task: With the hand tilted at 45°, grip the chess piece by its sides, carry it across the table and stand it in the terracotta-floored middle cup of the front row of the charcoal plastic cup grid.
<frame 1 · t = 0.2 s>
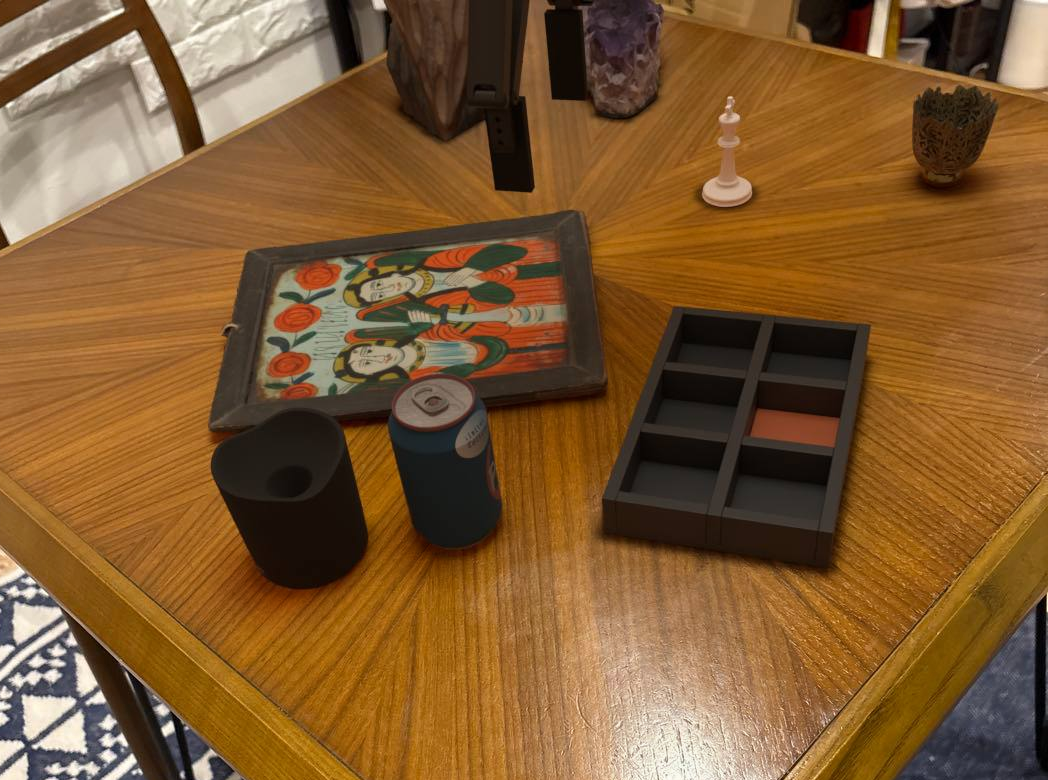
hand: (543, 141, 81), 20 cm above the table, tool pointing down, fingers open, 13 cm apart
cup: (940, 182, 108), on the table
owl: (451, 115, 130), on the table
chess piece: (726, 196, 111), on the table
soda can: (459, 524, 83), on the table
painting: (413, 326, 102), on the table
pen holder: (313, 551, 83), on the table
geode: (621, 81, 131), on the table
grid: (742, 441, 86), on the table
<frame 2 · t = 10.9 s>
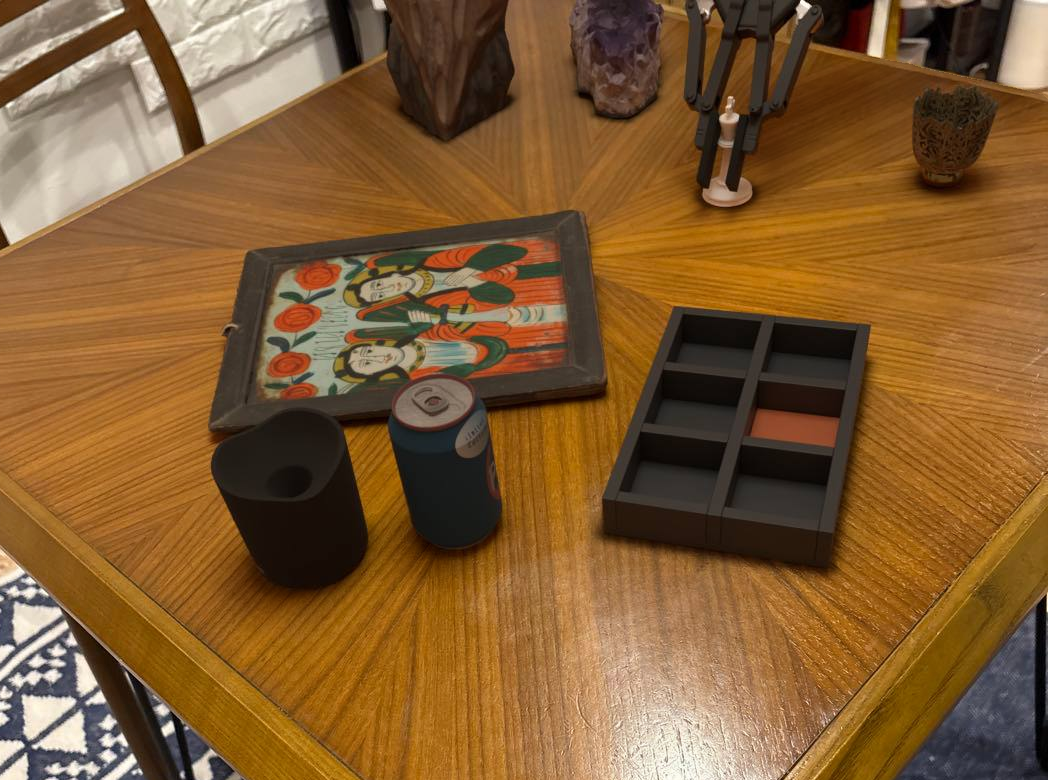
hand: (716, 185, 106), 3 cm above the table, tool tilted 45°, fingers closed on chess piece, 2 cm apart
chess piece: (727, 195, 111), on the table, touching gripper
everything else where it was.
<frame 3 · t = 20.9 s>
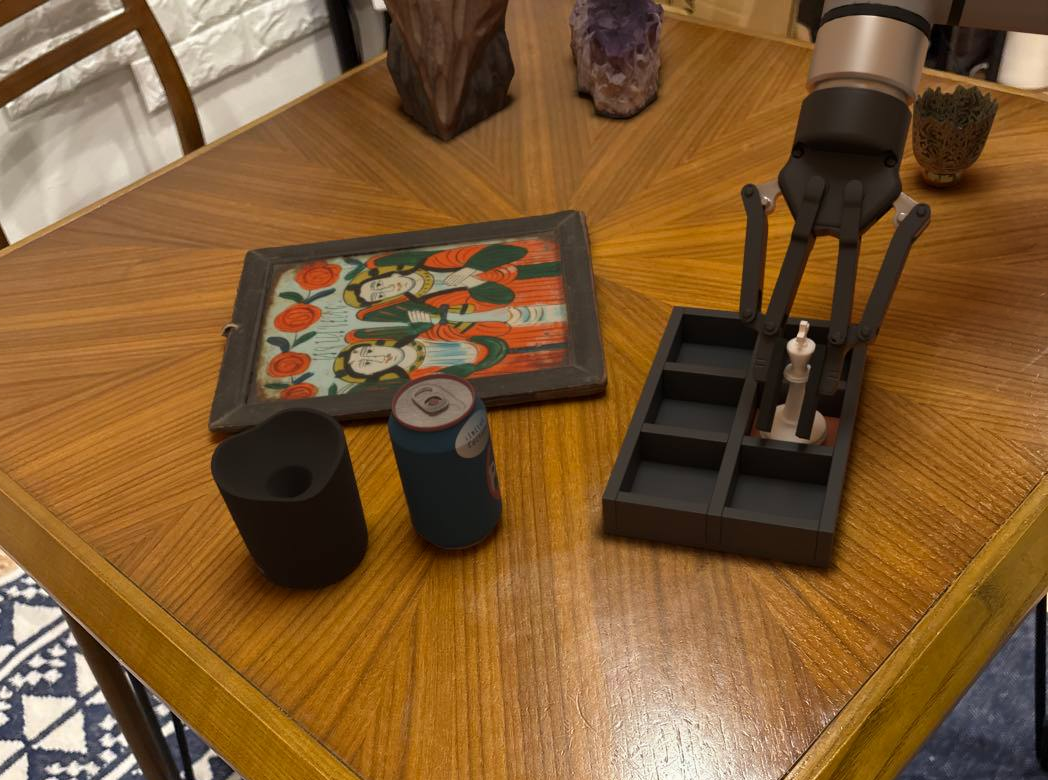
hand: (782, 433, 79), 5 cm above the table, tool tilted 45°, fingers closed on chess piece, 2 cm apart
chess piece: (792, 433, 84), point 1 cm above the table, touching gripper
everything else where it was.
when the fingers open (5 cm above the table, at t = 22.1 s): chess piece drops 1 cm, resting on grid.
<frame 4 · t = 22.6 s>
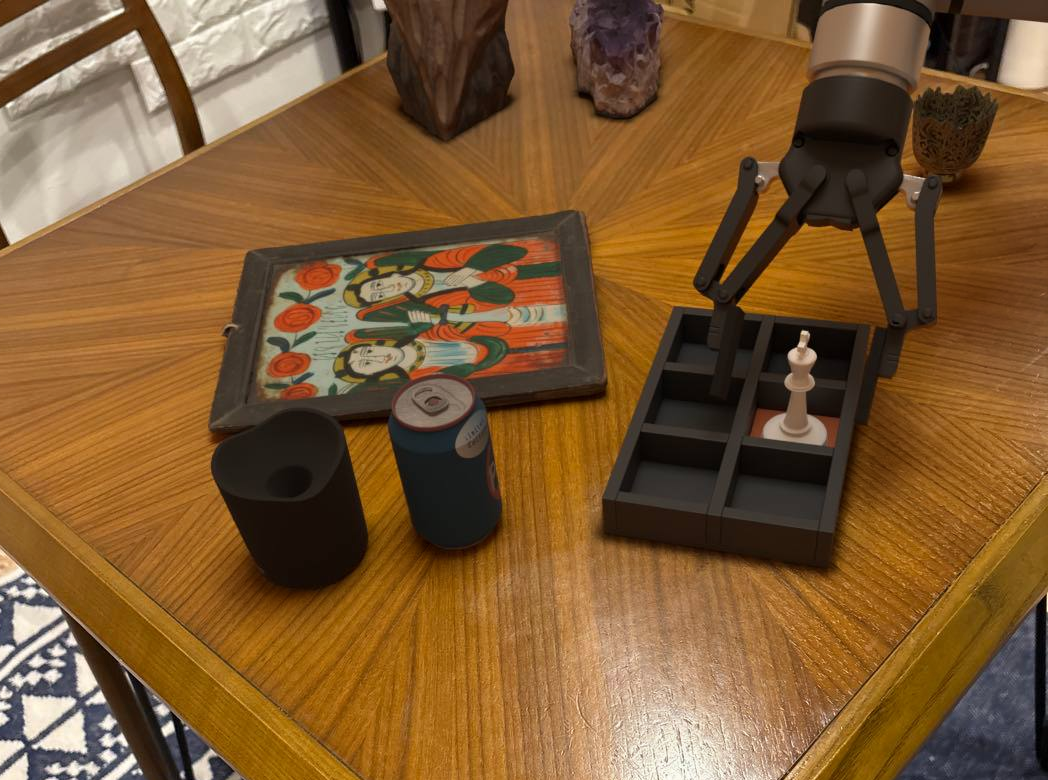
hand: (787, 410, 78), 6 cm above the table, tool tilted 45°, fingers open, 9 cm apart
chess piece: (793, 441, 84), point 1 cm above the table, touching grid
everything else where it was.
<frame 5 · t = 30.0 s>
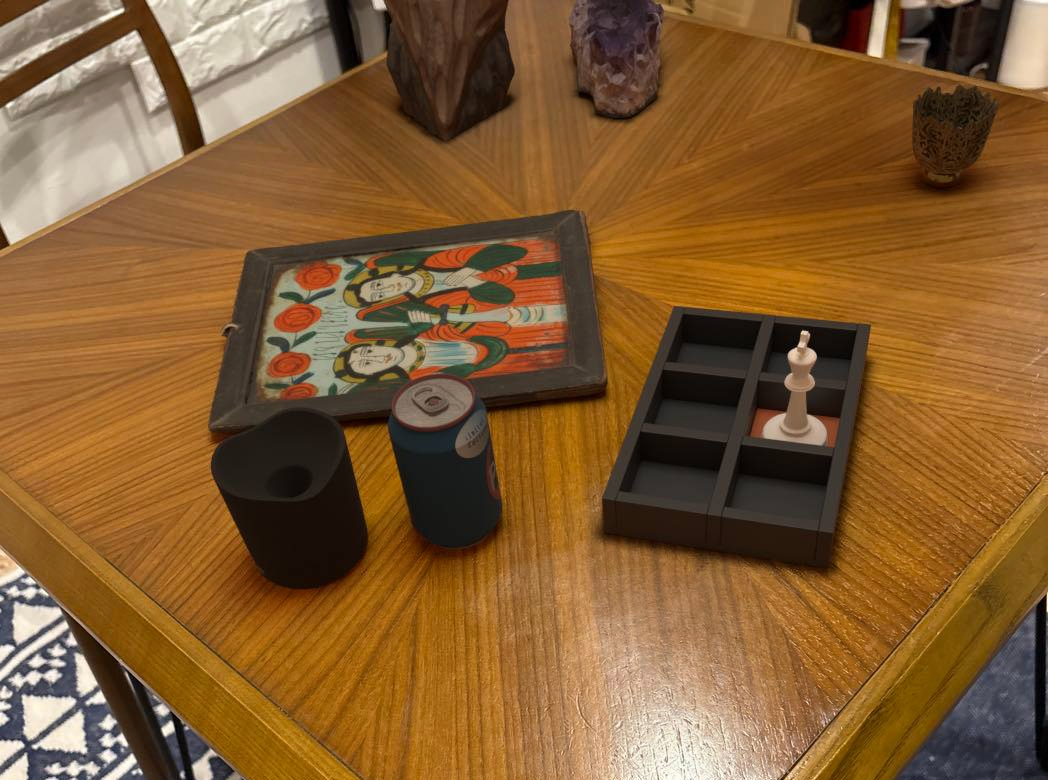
nothing on the table moved.
at the end: chess piece 0.1 cm from the target spot in the grid, point 0.6 cm above the grid's base; chess piece tilted 0° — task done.
